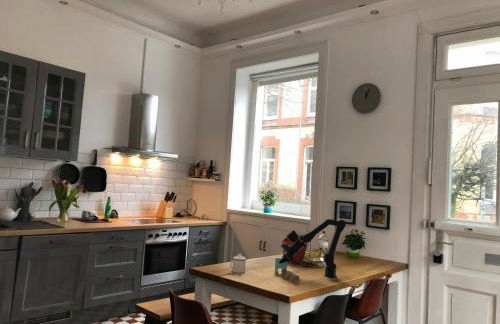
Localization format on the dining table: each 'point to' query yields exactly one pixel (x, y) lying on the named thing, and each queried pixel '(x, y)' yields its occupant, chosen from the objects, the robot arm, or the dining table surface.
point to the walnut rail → (290, 276)
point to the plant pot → (298, 256)
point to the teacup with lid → (238, 264)
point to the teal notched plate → (279, 266)
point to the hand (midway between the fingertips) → (279, 262)
